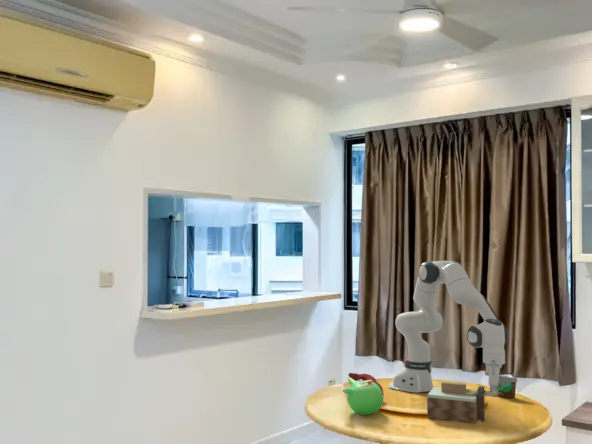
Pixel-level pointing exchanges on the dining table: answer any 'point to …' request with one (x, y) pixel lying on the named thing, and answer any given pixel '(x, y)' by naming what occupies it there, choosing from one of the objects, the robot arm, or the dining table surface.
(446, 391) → the toolbox lid
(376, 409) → the toy bird
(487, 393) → the wooden key
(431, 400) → the toolbox
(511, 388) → the food container
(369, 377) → the red toy dinosaur
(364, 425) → the dining table surface
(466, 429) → the dining table surface
